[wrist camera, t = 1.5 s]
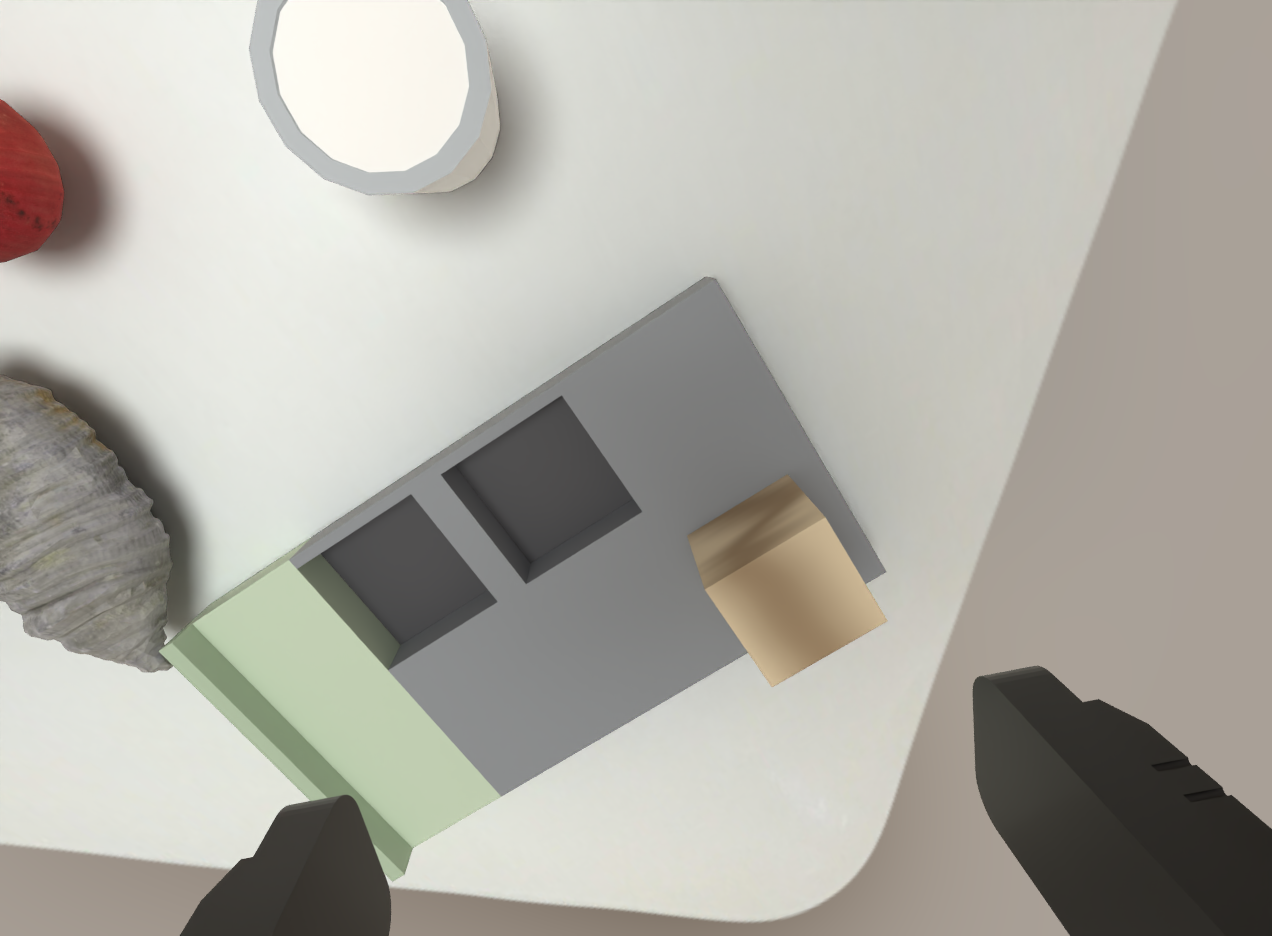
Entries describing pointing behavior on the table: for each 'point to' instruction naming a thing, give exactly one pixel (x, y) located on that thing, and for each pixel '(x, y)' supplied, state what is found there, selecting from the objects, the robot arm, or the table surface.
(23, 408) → the taro root
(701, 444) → the trap deck
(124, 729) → the table surface
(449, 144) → the cup of milk
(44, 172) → the onion
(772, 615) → the beech block
